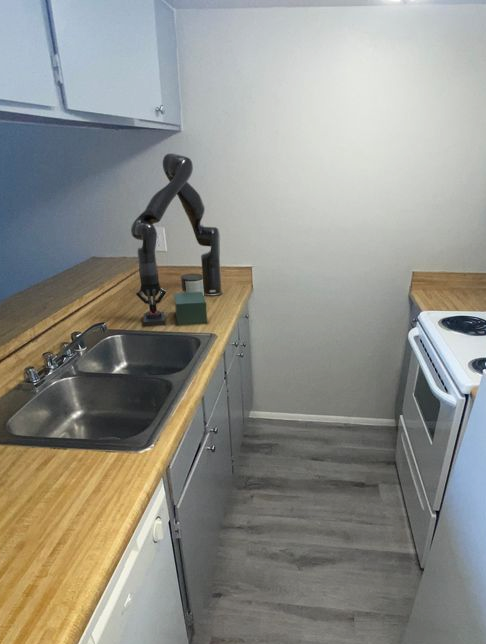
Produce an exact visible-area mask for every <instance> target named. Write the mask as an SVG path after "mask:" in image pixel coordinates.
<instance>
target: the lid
mask: <svg viewBox="0 0 486 644" xmlns="http://www.w3.org/2000/svg"><path fill="white" fill-rule="evenodd" d="M173 296H174V297H175V298H174V297H173V298H174V304H175V303H176V306H180V305H196V304H206V305H207V301H206V299H205V295H204V296H203V293H202V292H191V293H183V292H175V293H173Z"/></svg>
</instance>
